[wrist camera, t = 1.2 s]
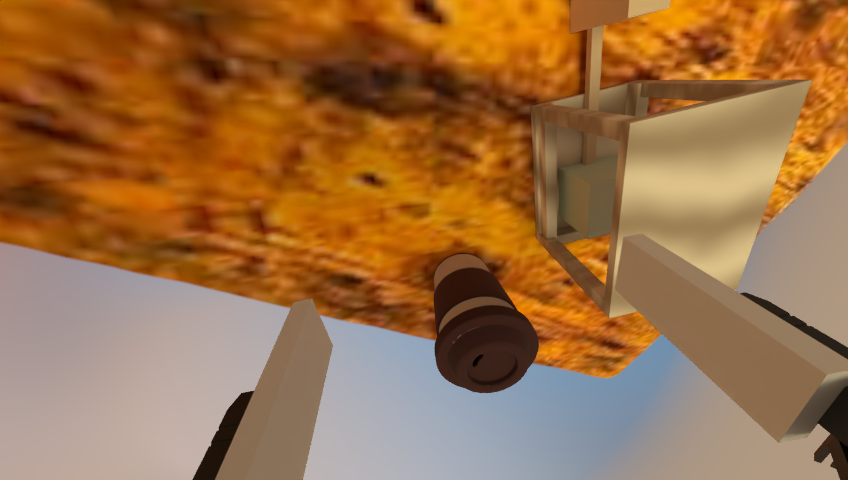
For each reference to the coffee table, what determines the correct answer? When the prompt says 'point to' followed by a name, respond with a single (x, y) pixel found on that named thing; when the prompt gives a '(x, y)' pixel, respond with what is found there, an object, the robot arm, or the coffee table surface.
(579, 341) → the coffee table surface
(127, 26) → the coffee table surface
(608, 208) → the tethered block
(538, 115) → the frame
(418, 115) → the coffee table surface
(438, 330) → the coffee cup
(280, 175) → the coffee table surface
